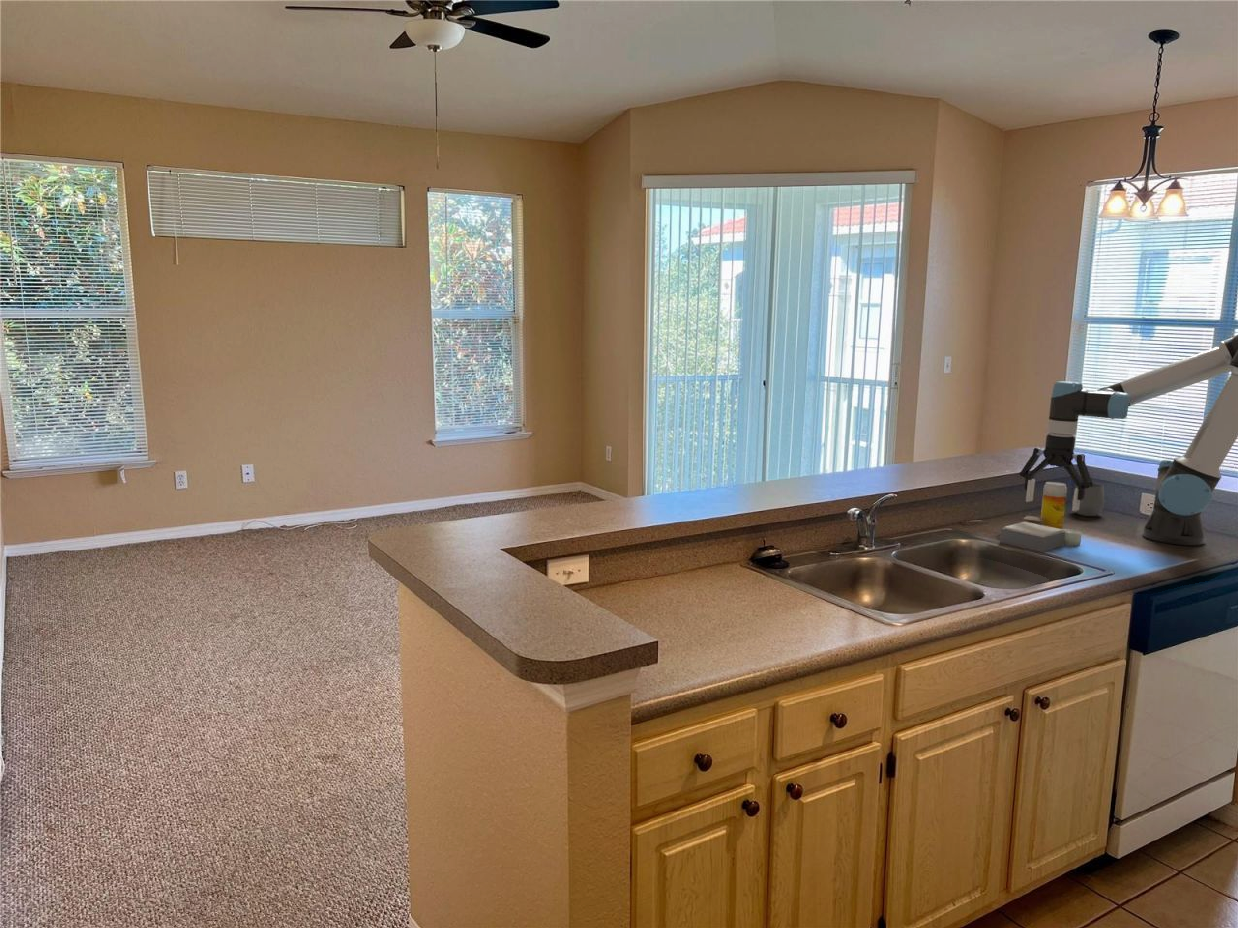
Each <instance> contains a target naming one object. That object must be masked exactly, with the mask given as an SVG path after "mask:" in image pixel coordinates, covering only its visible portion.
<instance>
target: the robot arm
mask: <svg viewBox="0 0 1238 928" xmlns="http://www.w3.org/2000/svg"><path fill="white" fill-rule="evenodd" d="M1227 373H1230V375H1229V377H1228V379H1227V381H1226V382H1225V384H1224V385H1223V387H1222V389H1221V391H1220V393H1219V394H1218V396H1217V398H1216V400H1215V401H1214V403H1213V405H1212V406H1211V408H1210V410H1209V412H1208V414H1206V416H1205V419H1204V420H1203V422H1202V423H1201V426H1200V427H1199V429H1198V430H1197V433H1196V434H1195V436H1194V438H1193V439H1192V441H1191V443H1190V444H1189V446H1188V448H1187V449H1186V452H1185V453H1184V454H1183V455H1181V456H1176V457H1175V458H1174V459H1173V460H1166V459H1164V460H1161V461H1160V462H1159V465H1158V468H1157V479H1156V485H1155V494H1154V501H1153V508H1152V511H1151V514H1150V515H1149V517H1148V519H1147V521H1146V523H1145V525H1144V527H1143V529H1142V530H1143V531H1142V536H1143V537H1145V538H1147V539H1148V540H1153V541H1156V542H1160V543H1166V544H1169V545H1170V544H1171V545H1177V546H1178V545H1179V546H1201V545H1204V544H1205V539H1206V533H1205V528H1204V525H1203V521H1202V512H1203V511H1204V510H1205V509H1206V508H1207V507H1208V506H1209V505H1210V503H1211V500H1212V494H1213V492H1214V491H1215V489H1216V488H1217V485H1218V483H1219V482H1220V480H1221V479H1222V475H1221V474H1222V473H1221V470H1220V467H1222V466H1221V465H1222V464H1223V463H1224V460H1225V459H1226V457H1227V456H1228V455H1229V452H1230V451H1231V449H1232V447H1233V446H1234V444H1235V442H1236V441H1237V439H1238V334H1236V335H1235V336H1232V337H1230V338H1227V339H1224V340H1221V341H1220V343H1219V344H1218V346H1215V347H1213V348H1210V349H1208V350H1203V351H1202V352H1200V353H1197V354H1194V355H1190V356H1188V357H1185V358H1182V359H1180V360H1177V361H1174V362H1172V363H1169V364H1166V365H1164V366H1161V367H1158V368H1155V369H1153V370H1150V371H1147V372H1144V373H1142V374H1139V375H1137V376H1136V375H1135V376H1134V377H1131V378H1128V379H1124V380H1122V381H1120V382H1118V383H1114V384H1112V385H1109V386H1105V387H1101V388H1099V389H1096V390H1093V389H1091V390H1089V389H1084V387H1083V383H1082V382H1079V381H1078V382H1077V381H1067V380H1065V381H1063V380H1061V381H1060V380H1059V381H1056V382H1054V383H1053V387H1052V392H1051V399H1050V406H1049V415H1048V422H1047V430H1046V432H1047V433H1048V434H1046V436H1045V443H1044V444H1045V447H1044V448H1042V447H1035V448H1033V451H1032V455H1031V456H1030V458H1029V459H1028V460H1027V462H1026V463H1025V465H1024V467H1022V470H1021V471H1019V473H1018V474H1019V476H1020V477H1023V478H1024V480H1025V482H1024V490H1026V497H1025V502H1028V503H1029V502H1033V499H1034V493H1035V492H1034V491H1035V484H1036V479H1034V477H1036V476H1037V475H1038V474H1039V473H1040V472H1042V471H1043V470H1044V469H1045V468H1046V467H1048V466H1049V465H1050V466H1051V467H1055V466H1056V467H1060V468H1064V469H1065V471H1067V474H1069V477H1071V479H1072V481H1073V482H1074V484H1075V485H1076V486H1077V487H1078V488H1076V487H1075V488H1074V492H1073V496H1074V500H1073V505H1072V508H1071V512H1075V511H1078V510H1079V506H1080V500H1083V499H1084V494H1085V489H1086V488H1091V487H1093V483H1094V482H1093V481H1092V479H1091V476H1090V473H1089V470H1088V467H1087V464H1086V455H1085V454H1084V453H1080V454H1075V453H1074V450H1075V443H1076V437H1075V435H1077V429H1078V423H1079V422H1078V421H1079V417H1080V416H1081V417H1091V418H1093V417H1094V418H1101V419H1102V418H1103V419H1111V420H1124V419H1126V418H1127V417H1128V410H1129V407H1131V406H1135V405H1138V404H1140V403H1142V402H1145V401H1148V400H1152V399H1154V398H1157V397H1160V396H1164V395H1165V394H1169V393H1171V392H1175V391H1178V390H1181V389H1184V388H1185V387H1189V386H1192V385H1195V384H1198V383H1201V382H1203V381H1206V380H1209V379H1212V378H1215V377H1218V376H1221V375H1223V374H1224V375H1225V374H1227ZM1042 455H1043V456H1044V458H1043V460H1042V461H1041V462H1040V463H1038V464H1037V465H1036V462H1037V461H1038V459H1040V457H1041V456H1042ZM1073 460H1074V461H1075V462H1076V465H1077V468H1078V471H1079V473H1078V471H1077V470H1076V467H1075V465H1074V464H1073V462H1072V461H1073ZM1034 465H1036V467H1034ZM1032 468H1033V469H1032Z"/></svg>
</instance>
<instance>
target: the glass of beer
mask: <svg viewBox="0 0 1238 928" xmlns="http://www.w3.org/2000/svg"><path fill="white" fill-rule="evenodd" d="M1067 494H1068V488H1067V484H1066V483H1063V482H1057V481H1046V482H1045V484H1044V486H1043V491H1042V500H1041V509H1040V510H1041V511H1040V517H1039V518H1046V519H1045V526H1048V527H1053V528H1058V529H1064V528H1063V526H1064V520H1065V519H1064V518H1065V510H1066V500H1067Z"/></svg>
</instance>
